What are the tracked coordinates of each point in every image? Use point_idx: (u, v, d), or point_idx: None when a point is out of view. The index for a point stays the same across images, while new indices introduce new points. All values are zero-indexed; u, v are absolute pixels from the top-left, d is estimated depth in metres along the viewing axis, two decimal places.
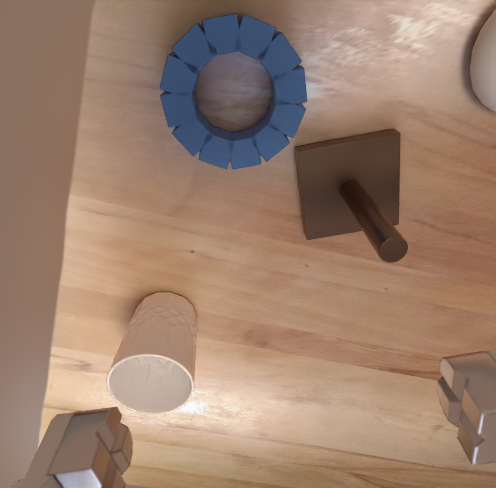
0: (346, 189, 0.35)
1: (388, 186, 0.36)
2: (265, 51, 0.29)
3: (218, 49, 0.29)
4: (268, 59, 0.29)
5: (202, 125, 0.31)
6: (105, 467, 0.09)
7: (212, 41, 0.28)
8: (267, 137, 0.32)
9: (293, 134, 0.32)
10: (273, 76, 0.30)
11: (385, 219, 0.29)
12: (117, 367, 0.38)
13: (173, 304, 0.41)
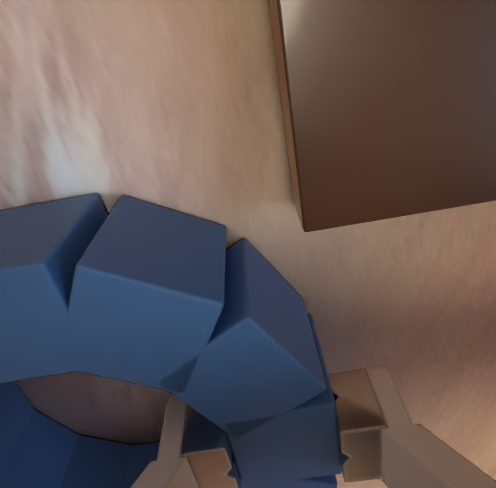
0: None
1: None
2: None
3: None
4: None
5: None
6: (231, 449, 0.09)
7: None
8: (224, 392, 0.08)
9: (208, 306, 0.07)
10: None
11: None
12: None
13: None
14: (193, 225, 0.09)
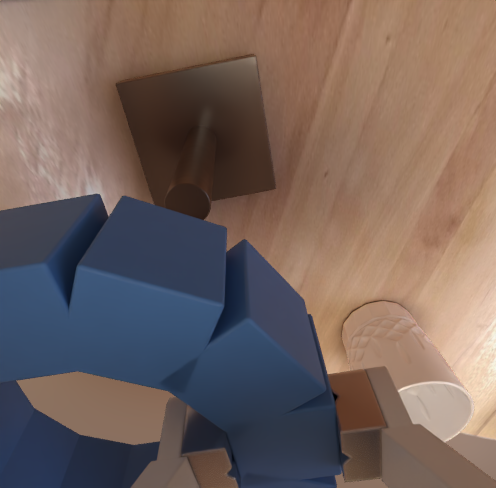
0: None
1: (193, 85, 0.25)
2: None
3: None
4: None
5: None
6: (231, 449, 0.09)
7: None
8: (224, 393, 0.08)
9: (208, 307, 0.07)
10: None
11: None
12: None
13: (351, 333, 0.35)
14: (194, 226, 0.09)
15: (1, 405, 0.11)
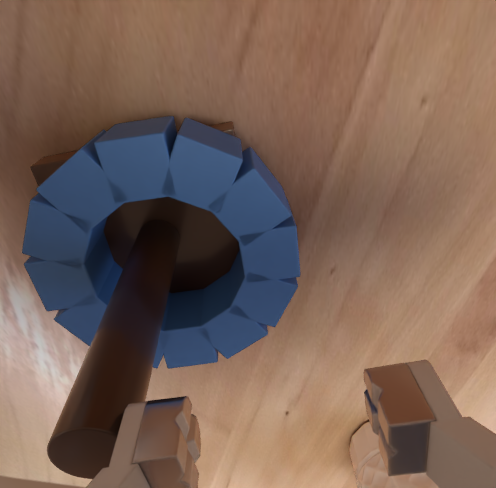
0: None
1: None
2: (75, 218, 0.15)
3: (86, 291, 0.17)
4: (89, 212, 0.15)
5: (214, 318, 0.18)
6: (185, 456, 0.09)
7: (75, 299, 0.17)
8: (240, 214, 0.15)
9: (235, 160, 0.14)
10: (118, 203, 0.15)
11: None
12: None
13: (362, 456, 0.27)
14: (224, 134, 0.16)
15: (101, 248, 0.18)
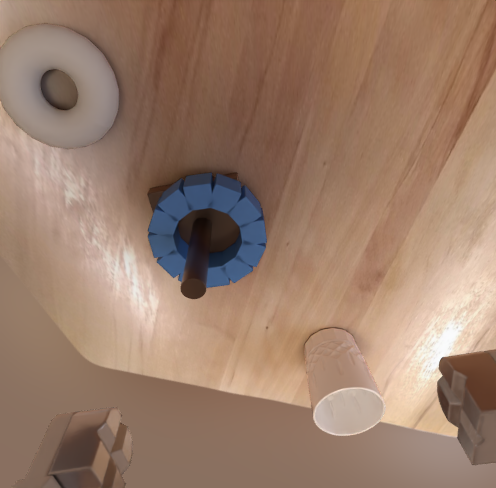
0: None
1: None
2: (172, 216, 0.37)
3: (172, 248, 0.38)
4: (178, 214, 0.36)
5: (228, 262, 0.39)
6: (105, 467, 0.09)
7: (167, 252, 0.38)
8: (240, 215, 0.37)
9: (238, 193, 0.36)
10: (190, 210, 0.36)
11: (184, 267, 0.33)
12: (339, 416, 0.46)
13: (309, 351, 0.49)
14: (233, 180, 0.38)
15: (176, 230, 0.40)
